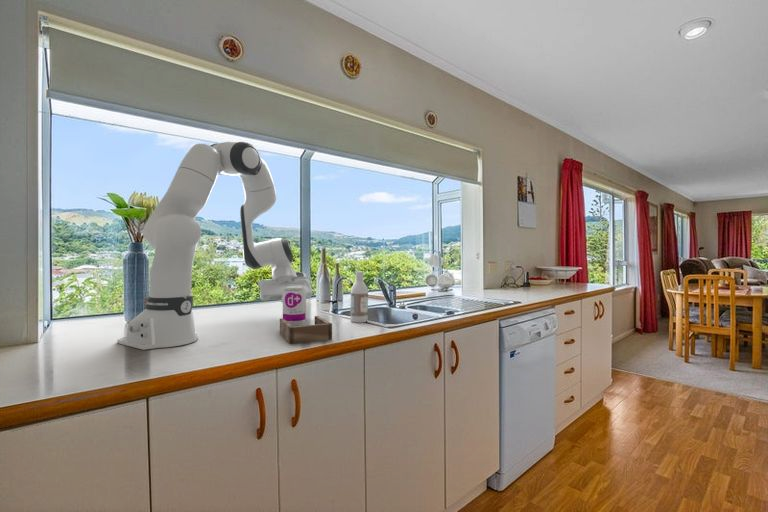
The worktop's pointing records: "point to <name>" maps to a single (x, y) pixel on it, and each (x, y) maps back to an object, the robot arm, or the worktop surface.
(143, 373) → the worktop surface
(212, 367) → the worktop surface
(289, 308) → the supplement can
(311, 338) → the bay
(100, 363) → the worktop surface
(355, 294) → the bath foam
